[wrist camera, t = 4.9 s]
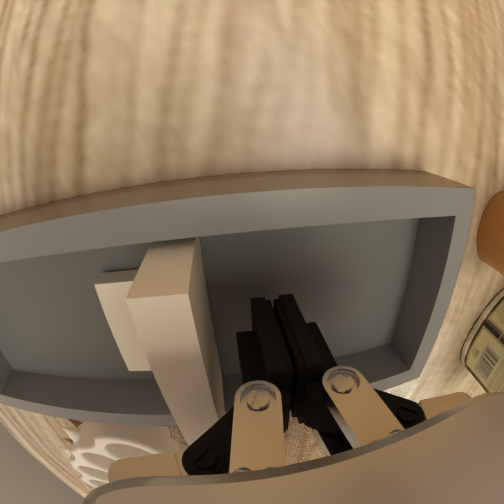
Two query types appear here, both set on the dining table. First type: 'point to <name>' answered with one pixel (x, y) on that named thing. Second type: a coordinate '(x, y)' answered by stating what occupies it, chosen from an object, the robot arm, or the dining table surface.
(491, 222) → the jar
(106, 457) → the knuckle duster
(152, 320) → the plate
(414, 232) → the grey rectangular tray
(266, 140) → the dining table surface
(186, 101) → the dining table surface
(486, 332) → the coffee can
